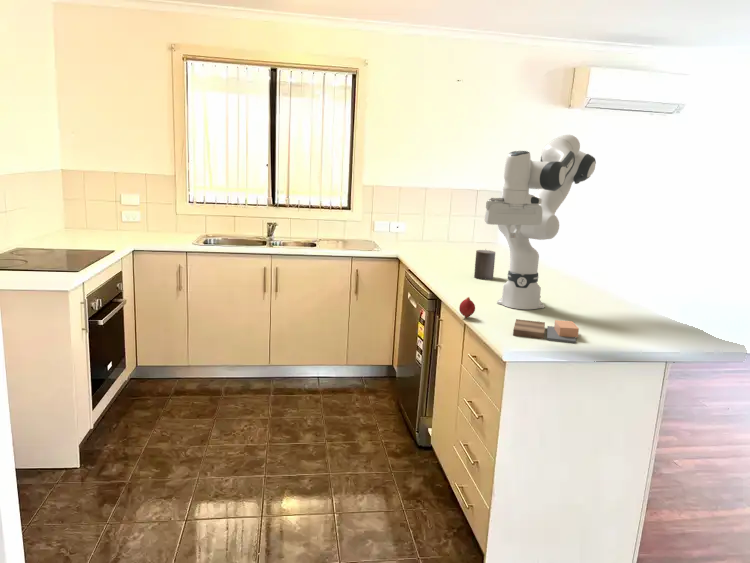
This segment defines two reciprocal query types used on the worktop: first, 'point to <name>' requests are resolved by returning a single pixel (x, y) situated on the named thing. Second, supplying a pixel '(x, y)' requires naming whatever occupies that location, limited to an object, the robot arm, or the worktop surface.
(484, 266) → the pillar candle
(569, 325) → the orange rectangular block
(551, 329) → the mat
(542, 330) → the board
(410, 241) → the worktop surface
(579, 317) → the worktop surface
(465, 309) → the onion
